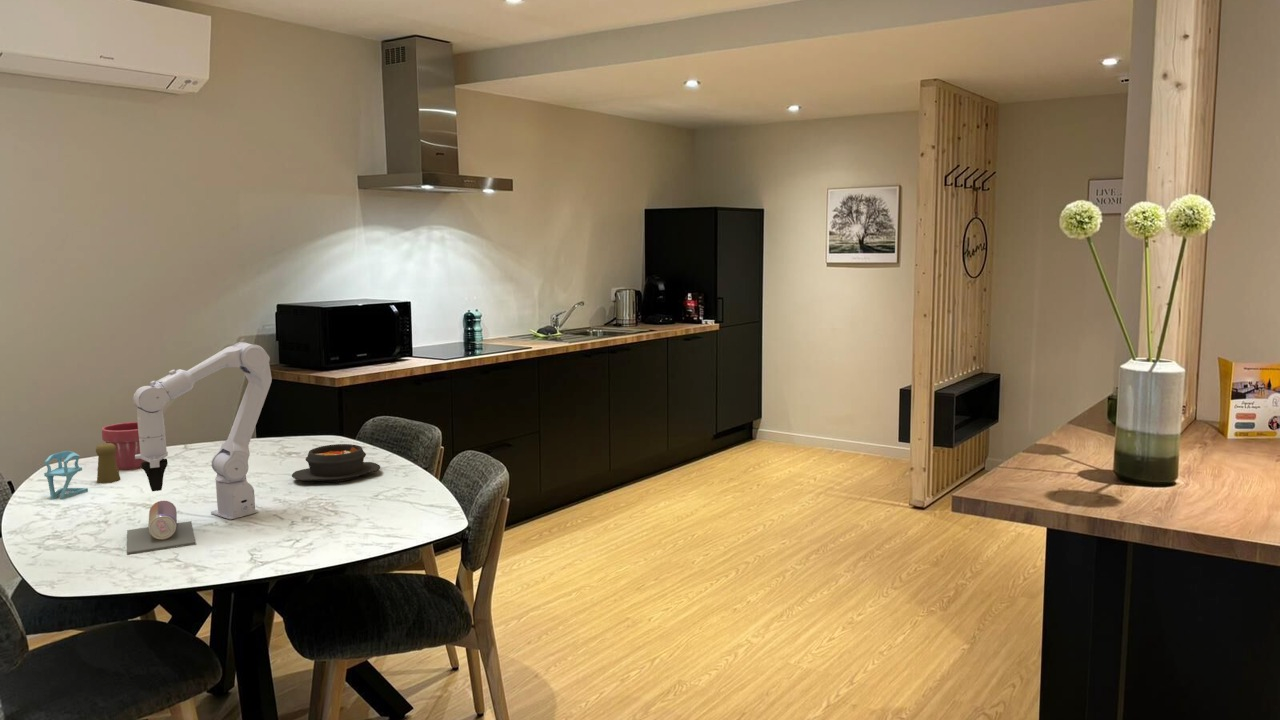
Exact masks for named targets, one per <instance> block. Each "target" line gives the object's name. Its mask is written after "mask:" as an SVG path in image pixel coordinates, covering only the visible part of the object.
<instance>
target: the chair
mask: <svg viewBox="0 0 1280 720" xmlns="http://www.w3.org/2000/svg"><path fill="white" fill-rule="evenodd" d="M53 459H56V460H57V462H58V463H57V464H58V465H57V466H58V467H56V468H54V469H52V467H51V465H50V462H51V461H52V460H53ZM62 459H64V460H63V462H62ZM73 459H74V467H69V466H68V463H69V462H70V461H71V460H73ZM79 459H80V454H78V453H76V452H74V451H70V450H64V451H61V452H56V453H53V454H50V455H49V456H47V458H46V460H44V463H45V466H46V468H47V471H46V472H44V473H43V475H44V476H43V477H46V480H47V482H48V483H47V484H48V488H49V494H50V500H55V499H57V498H58V497H59V500H64V499H67V498H71V497H73V496H76V495H80V494H83V493H84V494H85V493H87V492H88V491H89V488H88V487H69V485H70V483H71V481H72V479H73V477H74V476H75V475H76V474H78V472H81V471H83V467H82V466H79ZM62 463H63V464H62ZM54 477H66V480H65V482H64V485H63V487H60V488H58V489H57V490H55V484H54ZM66 492H67V493H66Z"/></svg>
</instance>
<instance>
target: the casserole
mask: <svg viewBox="0 0 1280 720" xmlns="http://www.w3.org/2000/svg"><path fill="white" fill-rule="evenodd" d="M366 455H367V453H366V452H365V451H364V449H363V447H362V446H360V445H357V444H351V443H348V444H347V443H337V444H335V443H334V444H328V445H322V446H317V447H315V448H312V449H310V450H309V451H308V453H307V457H305V461H306V463H307V464H308V468H303V469H300V470H295V471H294V472H293V473H292V474H291V477H292V478H293V479H294V480H298V481H303V482H304V481H307V482H310V481H320V482H325V483H326V482H327V483H328V482H329V483H336V482H345V481H348V480H352V479H355V478H357V477H359V476H362V475H365V474H371V473H374V472H377V471H380V469H381V465H380V464H378V463H377V462H372V461H364V459H365V457H366Z"/></svg>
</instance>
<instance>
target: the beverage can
mask: <svg viewBox="0 0 1280 720" xmlns="http://www.w3.org/2000/svg"><path fill="white" fill-rule="evenodd" d="M177 515H178V513H177V508H176V506H175V504H174V503H172V502H171V501H169V500H160V501H157V502H155V503H154V504H153V505H152V506H151V507H150V509H149V513H148V523H147V524H148V526H147V527H148V530H149V533H150V534H151V535H152V536H153V537H154V538H156V539H161V540H162V539H167V538H169V537H171V536H172V535H173V534H174V533H175V531H176V528H177V523H178V522H177V521H178V517H177Z"/></svg>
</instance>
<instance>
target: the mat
mask: <svg viewBox="0 0 1280 720" xmlns="http://www.w3.org/2000/svg"><path fill="white" fill-rule="evenodd" d="M196 544H197V543H196V536H195V532H194V528H193V523H192V520H191V521H184V522H177V528H176V531H175V533H174V534H173V535H172V536H171V537H169V538H167V539H162V540H161V539H156V538H154V537H153V536H152V535H151V534H150V533H149V530H148V526H146V527H140V528H133V529H127V530H126V555H133V554H140V553H147V552H152V551H153V552H155V551H159V550H166V549H172V548H173V549H174V548H179V547H185V546H186V547H187V546H192V545H194V546H195V545H196Z"/></svg>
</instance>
